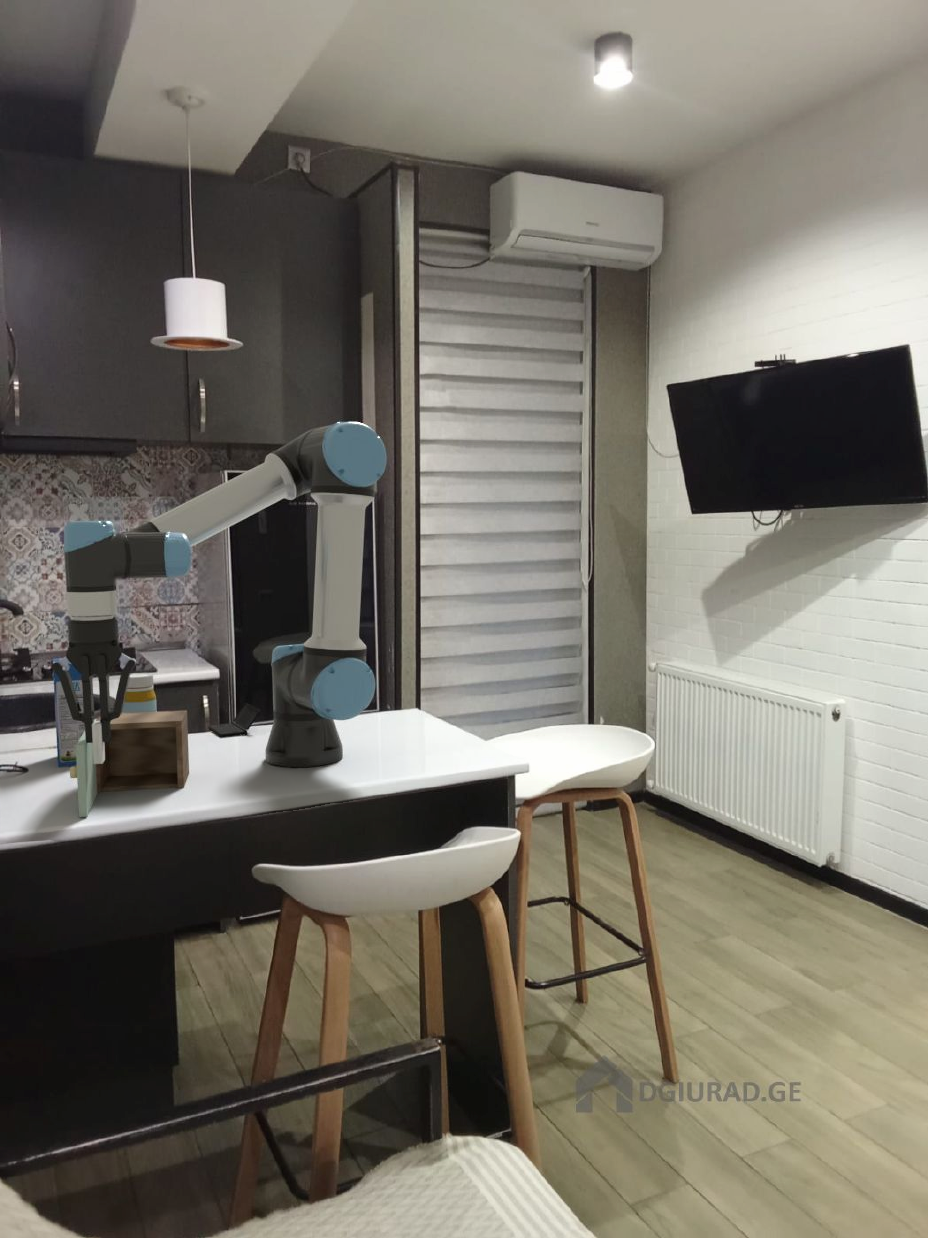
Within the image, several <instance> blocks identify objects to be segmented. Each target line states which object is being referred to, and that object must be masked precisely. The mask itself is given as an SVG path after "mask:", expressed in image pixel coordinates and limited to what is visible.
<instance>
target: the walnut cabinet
mask: <svg viewBox="0 0 928 1238" xmlns="http://www.w3.org/2000/svg"><path fill="white" fill-rule="evenodd" d="M100 720H101V718H100V716H98V717H97V719H95V721H100ZM110 725H111V738H110V740H109V742H104V745H105V761H104V762H103V764H96V777H97V793H102V792H108V791H109V792H110V791H111V792H112V791H114V792H115V791H129V790H146V789H147V790H149V789H163V788H164V789H165V788H167V789H168V788H178V789H179V788H180V789H181V788H182V789H183V788H185V785H186V783H187V780H188V778H189V775H190V759H189V756H190V755H189V752H190V751H189V731H188V728H189V727H188V710H187V709H186V710H165V711H164V710H161V711H157V712H134V713H121V715H120V717H119V718H116V719H113V720H111V722H110Z"/></svg>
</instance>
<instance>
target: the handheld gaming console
mask: <svg viewBox="0 0 928 1238" xmlns="http://www.w3.org/2000/svg"><path fill="white" fill-rule="evenodd" d="M260 713H261V709H259V708H257V707H255V706H253V705H252V704H249V703H248V702H245V703H244V704H243V706H242V707H241V708H240V710H239V711H238V713H237V714H236V716H235V717H234V718H233V721H231V722H229V723H220V724H214V725H213V724H212V725H208V726H207V727H208V730H209V731H210V732H212V733H213V734H215V736H216V735H217V737H220V738H231V737H239V736H248V731H249V730H250V728H251V727H252V725H253V723H254V722H255V721H256V718H257V717H258V716H259V715H260Z"/></svg>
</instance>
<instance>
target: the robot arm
mask: <svg viewBox="0 0 928 1238" xmlns="http://www.w3.org/2000/svg"><path fill="white" fill-rule="evenodd" d="M387 460H388V459H387V451H386V447H385V444H384V441H383V440H382V438H381V436H379V435H378V434H377V432H376V431H375V430H374V429H373V428H371V426H368V425H367V424H365V423H361V422H358V421H338V422H336V423H333V424H330V425H324V426H319V427H314V428H312V429H310V430H307V431H306V432H303V433H302V434H301V435H299V436H297V437H295V438H294V439H293V440H291V441H290V442H288V443H286V444H284V445H282V446H281V447H280V448H278V449H276V450H274V451H272V452H270V453H268V454H267V455H266V456H265V459H264V462H263V463H261V464H258V465H257V466H255V467H253V468H251V469H249V470H247V471H245V472H243V473H241V474H239V475H237V476H235V477H233V478H232V479H229V480H227V481H225V482H223V483H221V484H219V485H217V486H215V487H213V488H211V489H210V490H207V491H206V492H203V493H201V494H199V495H198V496H195V497H194V498H192V499H189V500H187V501H185V502H184V503H182V504H180V505H178V506H176V507H174V508H172V509H170V510H168V511H166V512H164V513H162V514H160V515H159V516H156V517H153V518H152V519H150V520H149V521H147V522H145V523H142V524H140V525H138V526H136V527H135V528H133V529H130V530H129V531H122V532H116V529H115V528H114V527H115V526H114V522H112V521H110V520H72V521H68V522H67V523H66V524H65V525H64V529H63V549H62V551H63V556H64V558H63V559H64V575H65V589H66V590H65V594H66V595H65V596H66V597H65V598H66V599H65V600H66V614H67V616H68V617H71V618H70V619H69V620H68V621H67V633H68V635H67V637H68V646H67V649H66V651H65V656H64V657H61V658H62V659H61V660H59V661H56V662H55V663H53V662H52V664H51V668H52V671H53V670H54V671H55V673H56V674H57V675H58V676H59V678H60V682H61V685H62V688H63V691H64V694H65V697H66V700H67V703H68V706H69V710H70V713H71V716H72V718H73V720H78V721H81V722H83V723H84V724H85V738H86V742H87V743H93V759H94V764H103V762H104V761H105V745H104V742H109V740H110V738H111V725H110V722H111V720H113V719H116V718H119V717H120V715H121V713H122V710H123V705H124V700H125V696H126V691H127V687H128V682H129V677H130V674H132V673H131V672H132V671H133V669H134V668H135V667H136V664H137V662H138V660H137V659H136V658H135V657H130V656H128V655H126V654H125V653H124V652H123V648H122V647H121V645H120V642H119V641H120V639H119V620H118V619H117V617H115V615H117V614H118V597H117V596H118V595H117V580H128V579H163V578H167V579H171V578H178V577H181V578H182V577H185V576H186V575H188V573H189V571H190V569H191V566H192V559H193V558H192V557H193V555H192V547H195V546H196V545H197V544H200V543H201V542H204V541H205V540H208V539H210V538H211V537H212V536H215V535H217V534H219V533H221V532H222V531H225V530H226V529H228V528H230V527H232V526H234V525H236V524H237V523H240V522H242V521H243V520H245V519H247V518H249V517H250V516H253V515H255V514H257V513H259V512H260V511H262V510H264V509H266V508H267V507H270V506H271V505H274V504H276V503H277V502H279V501H281V500H283V499H285V500H289V501H292V500H294V499H296V498H298V497H300V496H303V495H305V494H308V493H310V497H311V498H312V499H313V501H315V503H317V526H316V528H317V529H316V547H315V548H316V550H315V568H314V569H315V571H314V590H313V592H314V593H313V610H312V611H313V612H312V613H313V614H312V615H313V617H312V631H311V632H312V633H311V637H309V638H308V639H307V640H306V641H305V642H303V643H300V644H299V643H298V644H288V645H287V644H285V645H278V646H276V647H275V648H273V649H272V652H271V653H272V654H271V663H270V666H271V676H272V678H271V679H272V682H271V683H272V706H273V724H272V726H271V730H270V734H269V736H268V739H267V743H266V747H265V761H266V762H267V763H268V764H271V765H273V766H277V767H287V768H304V767H308V768H309V767H318V766H325V765H328V764H333V763H335V762H338V761H341V759H343V755H344V754H343V753H344V752H343V743H342V739H341V738H340V735H339V731H338V730H337V729H338V728H337V726H336V723H335V721H347V720H351V719H354V718H356V717H357V716H359V715H361V714H362V713H363V712H364V711H365V710H366V708H368V707H369V705H370V704H371V702H372V701H373V698H374V695H375V691H376V677H375V675H374V672H373V670H372V669H371V667H370V666H369V665H368V663H367V650H368V649H367V645H366V644H365V643H364V641H363V640H362V639H361V638H360V622H361V621H360V619H361V618H360V617H361V602H362V600H361V598H362V582H363V581H362V577H363V576H362V575H363V558H364V539H365V520H366V519H365V517H366V509H367V507H368V506H369V505H370V504H371V503H372V502H373V501H374V500H375V487H376V486H375V485H376V482H377V481H379V480H380V478H381V477H382V476H383V474H384V472H385V470H386V467H387ZM69 661H70V663H71V664H72V665H73V666H74V667H75V669H76V670H77V671H78V672H79V673H80V674H81V680H82V689H83V709H84V712H82V710H81V707H80V704H79V701H78V698H77V695H76V691H75V688H74V685H73V682H72V679H71V676H70V673H69V671H68V670H69V669H70V666H69ZM118 662H120V664H119V666H120V668H121V673H120V677H119V681H118V686H117V691H116V695H115V700H114V705H113V708H112V710H111V698H110V697H111V696H110V694H111V693H110V672H112V670H113V669H114V667H115V666H116V664H117V663H118ZM94 675H96V676H97V678H98V679H97V681H98V687H99V688H98V690H99V691H98V692H99V712H100V713H99V714H100V715H99V717H100V718H101V720H100V721H96V720H95V718H96V715H95V707H94V706H95V705H94V704H95V703H94V702H95V701H94V683H93V682H94V680H93V678H94Z"/></svg>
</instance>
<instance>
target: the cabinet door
mask: <svg viewBox="0 0 928 1238" xmlns="http://www.w3.org/2000/svg"><path fill="white" fill-rule="evenodd" d="M76 762H77V765H76V766H69V767H70V768H69V778H70V779H77V796H78V797H77V799H78V802H77V803H78V817H79V818H83V817H84V818H86V817H88V816H89V813H90V811H91V809H92V807H93V804H94V802H95V800H96V797H97V795H98V792H97V777H96V764H94V759H93V743H87V742H86V738H85V731H84V733H83V734H82V736H81V738H80V739H79V741H78V743H77V744H76Z"/></svg>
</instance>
